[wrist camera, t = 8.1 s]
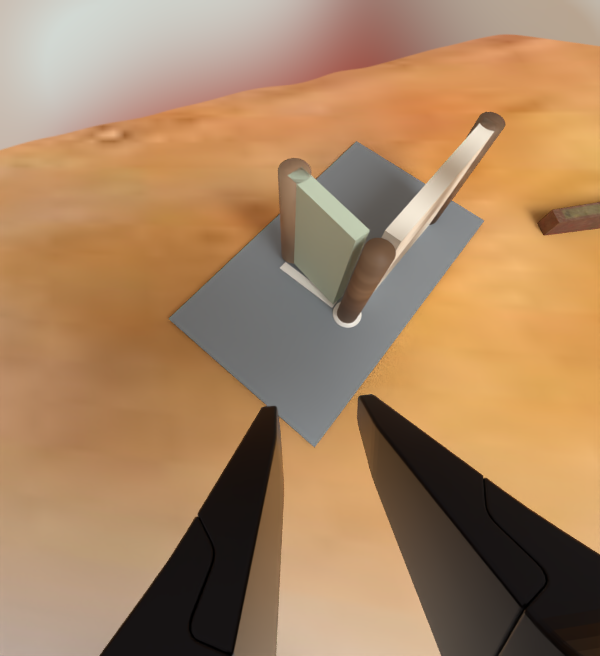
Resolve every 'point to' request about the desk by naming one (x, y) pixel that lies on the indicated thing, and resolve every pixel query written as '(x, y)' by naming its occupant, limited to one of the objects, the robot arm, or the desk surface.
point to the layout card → (320, 301)
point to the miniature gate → (571, 219)
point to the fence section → (417, 216)
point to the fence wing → (317, 230)
